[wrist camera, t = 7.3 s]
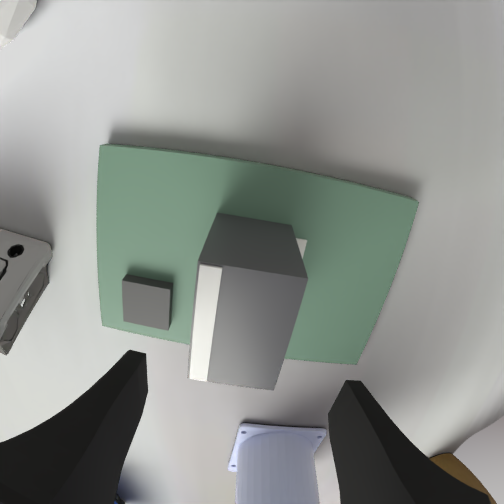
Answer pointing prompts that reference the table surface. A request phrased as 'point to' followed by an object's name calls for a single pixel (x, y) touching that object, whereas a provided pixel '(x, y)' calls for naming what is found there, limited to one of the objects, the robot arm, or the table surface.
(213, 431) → the table surface
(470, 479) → the plant pot
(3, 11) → the perfume bottle
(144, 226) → the pcb
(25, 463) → the robot arm
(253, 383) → the plug
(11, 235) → the electrical switch
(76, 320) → the table surface
